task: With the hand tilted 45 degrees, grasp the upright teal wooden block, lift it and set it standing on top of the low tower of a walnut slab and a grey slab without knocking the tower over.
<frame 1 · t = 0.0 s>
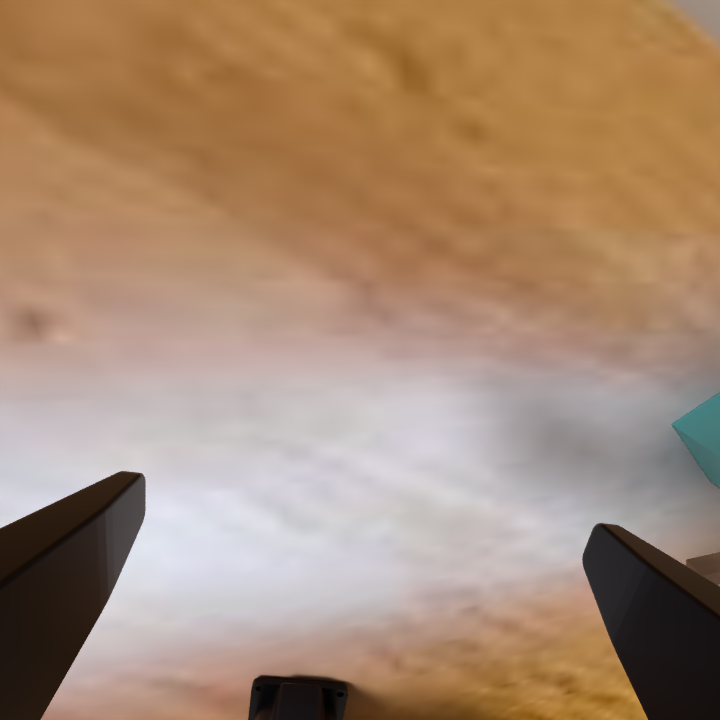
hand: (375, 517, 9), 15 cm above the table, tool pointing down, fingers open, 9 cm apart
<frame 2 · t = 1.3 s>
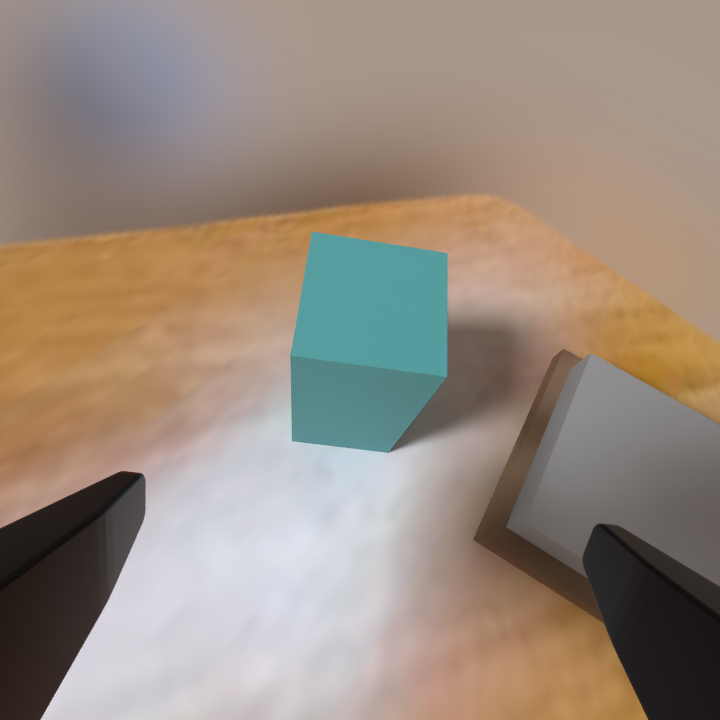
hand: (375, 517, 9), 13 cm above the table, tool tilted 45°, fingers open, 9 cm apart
grey slab: (629, 492, 23), point 1 cm above the table, touching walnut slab
teal block: (345, 401, 24), on the table
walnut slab: (608, 501, 25), on the table, touching grey slab
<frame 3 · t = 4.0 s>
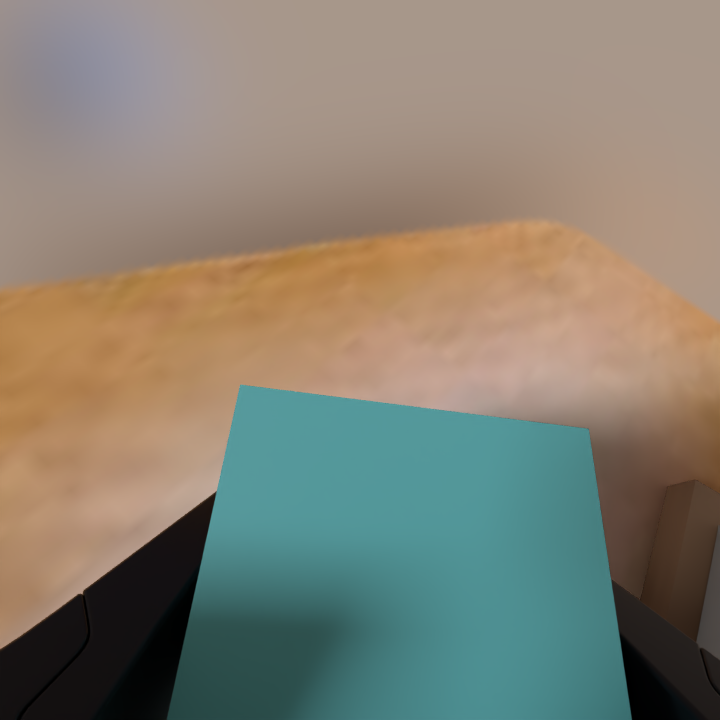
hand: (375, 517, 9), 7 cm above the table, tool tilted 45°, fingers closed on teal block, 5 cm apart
teal block: (338, 587, 14), on the table, touching gripper
when the fingers open (12 cm above the table, at t = 8.3 s): teal block drops 2 cm, point 3 cm above the table.
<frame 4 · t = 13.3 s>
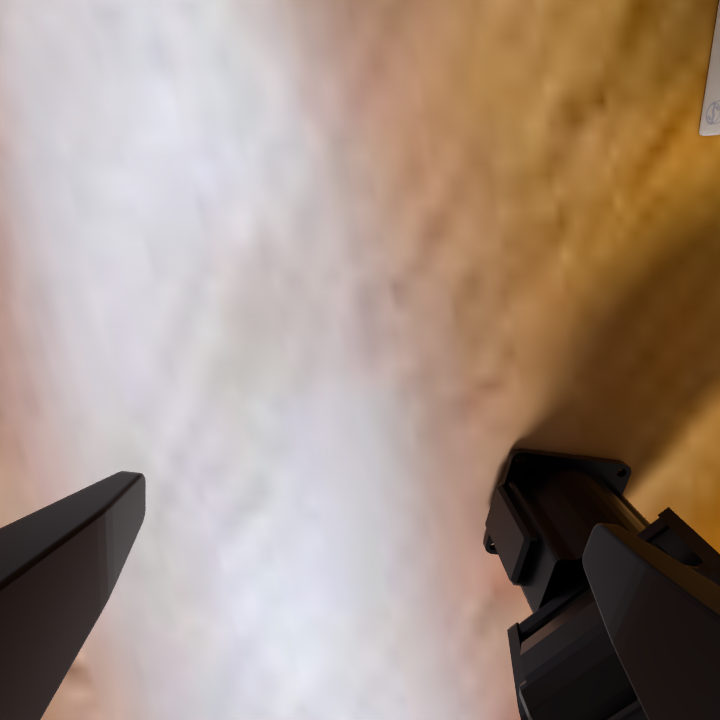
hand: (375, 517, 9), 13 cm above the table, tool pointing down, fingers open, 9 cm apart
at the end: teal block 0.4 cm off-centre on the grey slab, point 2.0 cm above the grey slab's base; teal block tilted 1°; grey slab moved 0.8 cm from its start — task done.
